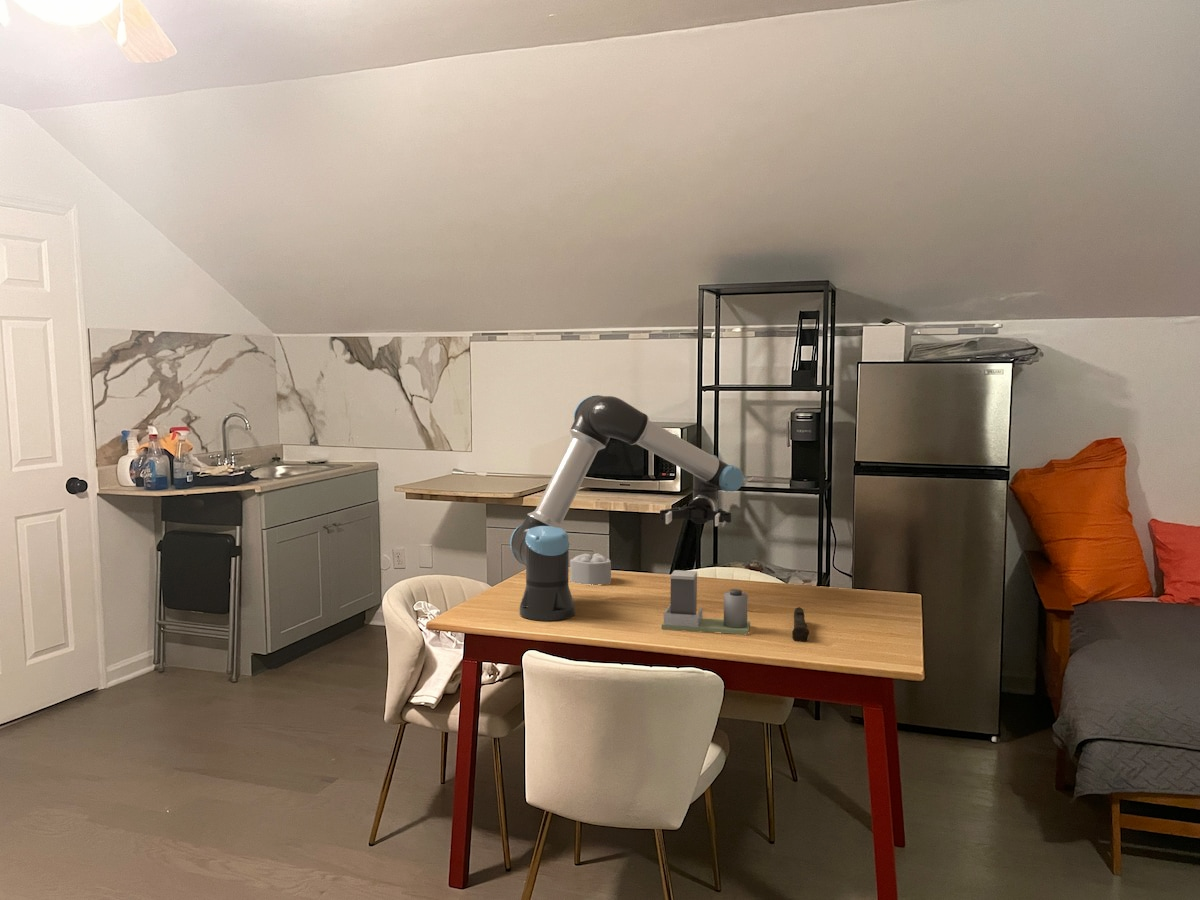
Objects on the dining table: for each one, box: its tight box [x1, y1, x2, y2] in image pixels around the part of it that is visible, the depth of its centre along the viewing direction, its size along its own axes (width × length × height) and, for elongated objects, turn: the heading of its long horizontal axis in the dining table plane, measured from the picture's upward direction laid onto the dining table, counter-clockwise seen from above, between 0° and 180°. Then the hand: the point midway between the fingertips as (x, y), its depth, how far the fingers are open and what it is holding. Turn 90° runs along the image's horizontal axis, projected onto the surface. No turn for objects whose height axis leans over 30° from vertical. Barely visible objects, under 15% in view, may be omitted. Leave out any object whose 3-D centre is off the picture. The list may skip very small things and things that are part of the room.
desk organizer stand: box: [661, 588, 751, 636], centre depth 225 cm, size 22×9×10 cm, turn 76°
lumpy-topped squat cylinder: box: [569, 553, 612, 585], centre depth 278 cm, size 10×13×9 cm
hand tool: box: [791, 606, 810, 643], centre depth 222 cm, size 19×4×5 cm, turn 166°
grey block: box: [669, 569, 698, 615], centre depth 226 cm, size 6×7×13 cm
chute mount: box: [663, 604, 704, 627], centre depth 226 cm, size 9×8×3 cm
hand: (691, 520), depth 237 cm, fingers open, 13 cm apart
